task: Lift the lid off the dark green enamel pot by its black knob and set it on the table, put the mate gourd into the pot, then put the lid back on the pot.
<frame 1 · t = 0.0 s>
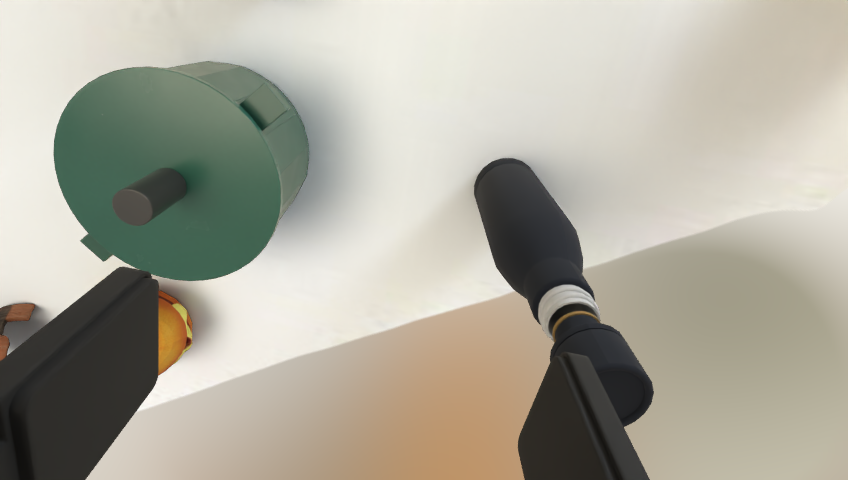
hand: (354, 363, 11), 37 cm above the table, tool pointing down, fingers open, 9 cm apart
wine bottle: (504, 187, 49), on the table
cheeseburger: (157, 314, 55), on the table
lid: (173, 182, 36), point 11 cm above the table, touching pot
brown hollow piece: (28, 336, 56), on the table
pot: (229, 146, 47), on the table
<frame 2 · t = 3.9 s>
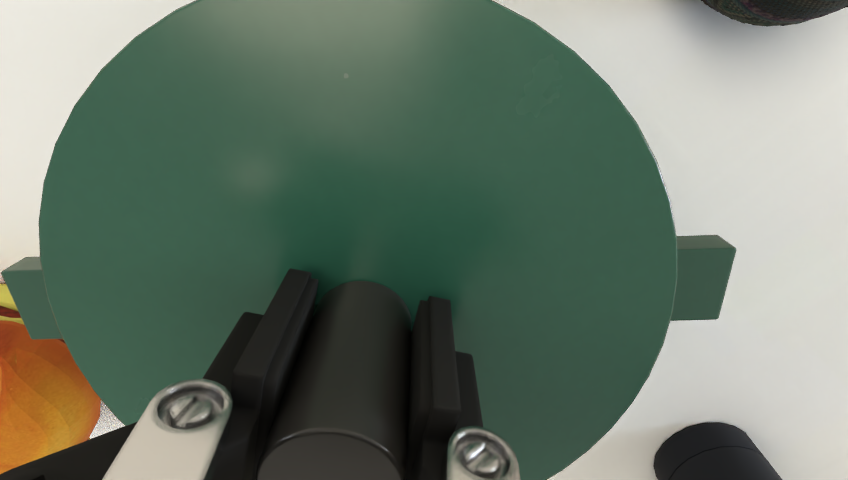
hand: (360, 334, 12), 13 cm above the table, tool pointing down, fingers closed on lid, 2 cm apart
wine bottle: (700, 455, 32), on the table
cheeseburger: (43, 339, 28), on the table
lid: (365, 309, 13), point 12 cm above the table, touching gripper, pot
pot: (390, 184, 24), on the table
when the fingers open (2 cm above the table, at t = 13.4 s): lid stays where it is, point 1 cm above the table.
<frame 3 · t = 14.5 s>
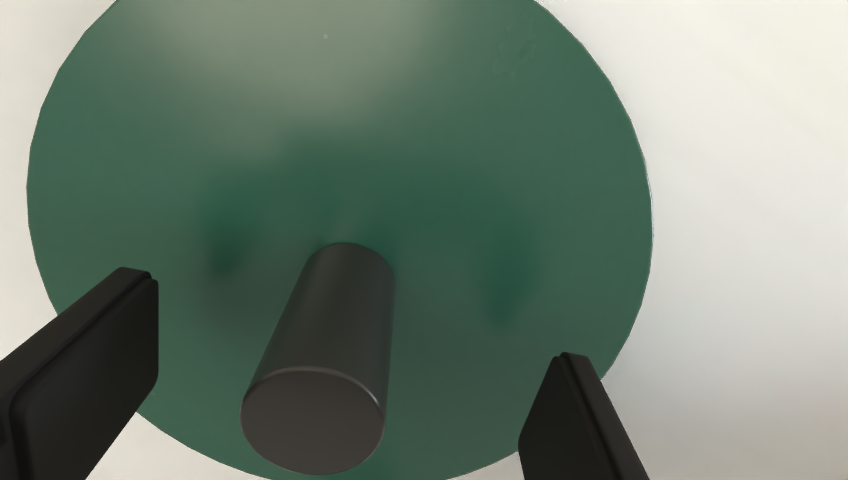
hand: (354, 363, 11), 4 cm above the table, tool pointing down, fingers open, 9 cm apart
lid: (351, 274, 14), point 1 cm above the table
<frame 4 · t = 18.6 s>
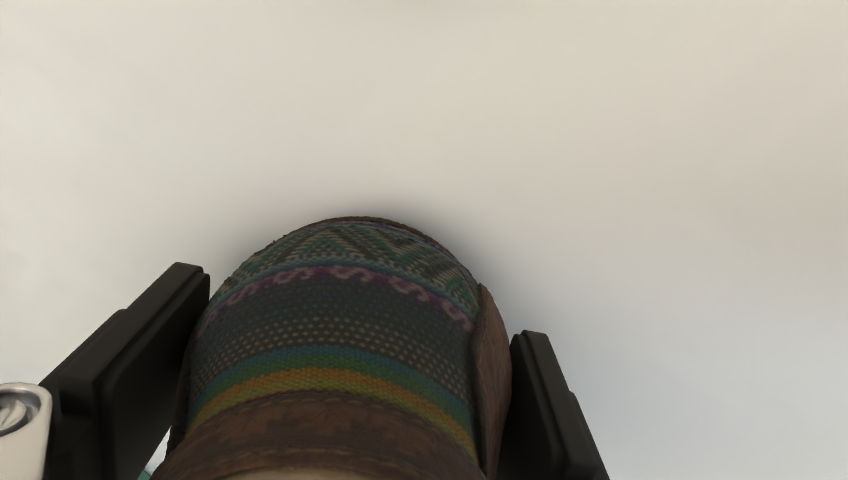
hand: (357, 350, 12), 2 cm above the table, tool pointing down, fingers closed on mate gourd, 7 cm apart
mate gourd: (368, 295, 14), on the table, touching gripper
when the fingers open (11 cm above the table, at t = 26.5 s): mate gourd drops 8 cm, resting on pot.
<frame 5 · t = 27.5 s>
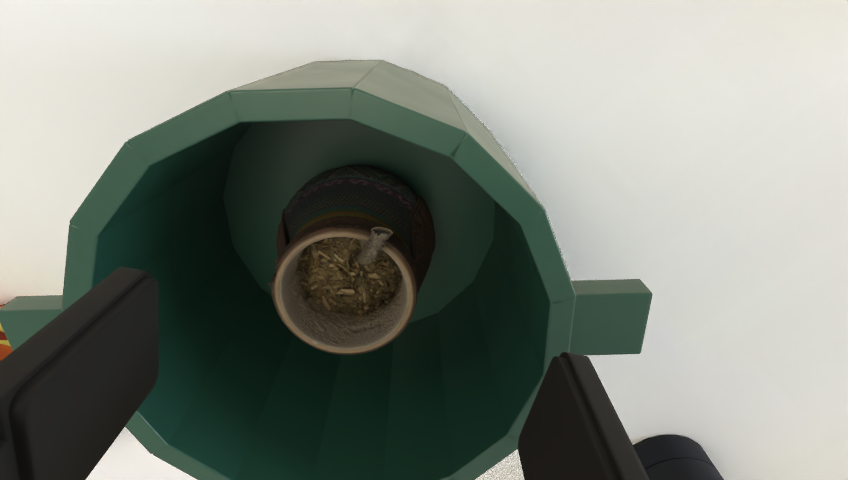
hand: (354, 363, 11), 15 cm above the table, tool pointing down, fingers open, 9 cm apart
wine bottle: (658, 465, 34), on the table
mate gourd: (364, 214, 25), resting on pot
pot: (362, 215, 25), on the table
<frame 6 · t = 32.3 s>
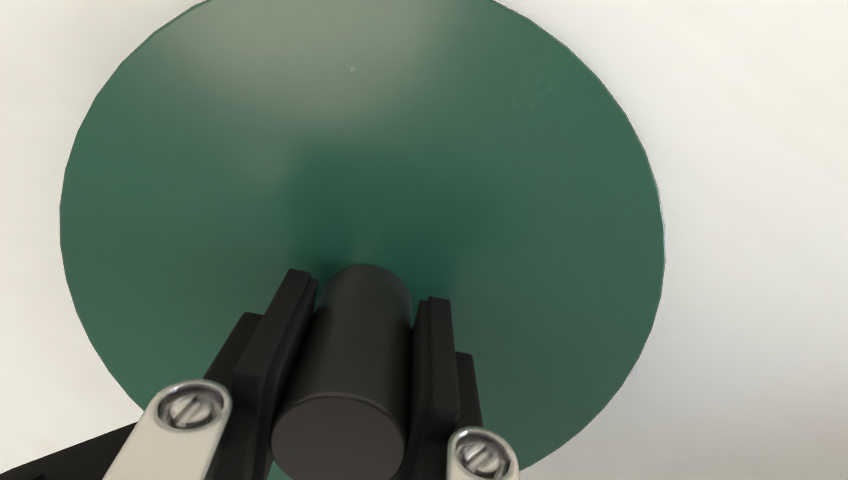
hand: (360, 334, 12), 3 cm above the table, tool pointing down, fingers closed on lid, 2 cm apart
lid: (368, 293, 14), point 1 cm above the table, touching gripper
when the fingers open (13 cm above the table, at t = 40.5 s): lid stays where it is, resting on pot.
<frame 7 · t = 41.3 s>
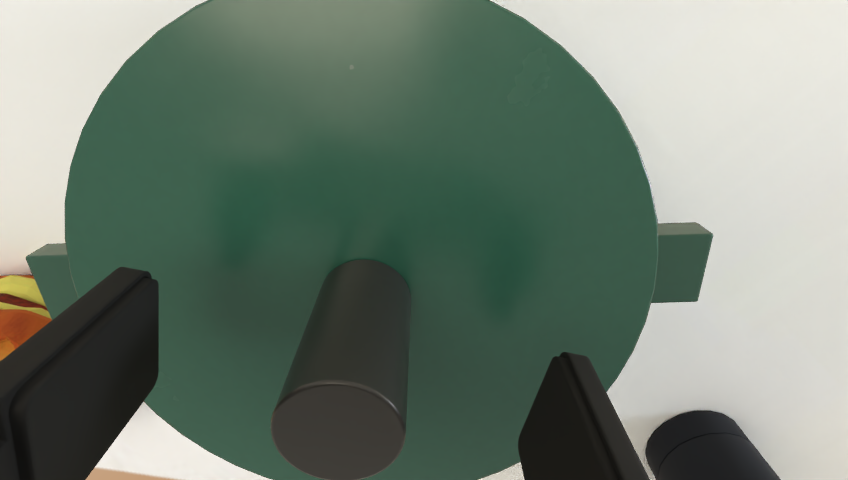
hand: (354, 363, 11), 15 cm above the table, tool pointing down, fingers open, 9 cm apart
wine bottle: (690, 443, 33), on the table
cheeseburger: (54, 330, 29), on the table
lid: (368, 288, 14), point 11 cm above the table, touching pot
pot: (390, 178, 25), on the table
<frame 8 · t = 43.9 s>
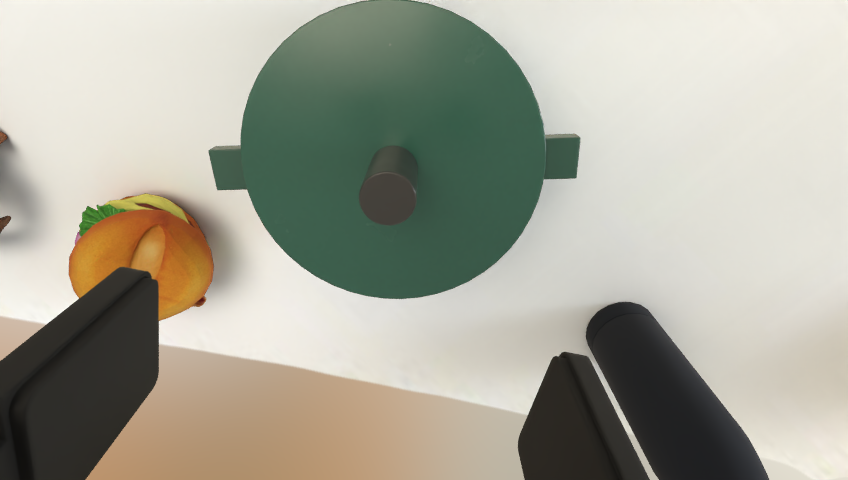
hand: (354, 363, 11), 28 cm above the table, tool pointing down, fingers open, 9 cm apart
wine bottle: (618, 329, 45), on the table
cheeseburger: (165, 238, 41), on the table
lid: (394, 165, 26), point 11 cm above the table, touching pot
pot: (402, 127, 37), on the table
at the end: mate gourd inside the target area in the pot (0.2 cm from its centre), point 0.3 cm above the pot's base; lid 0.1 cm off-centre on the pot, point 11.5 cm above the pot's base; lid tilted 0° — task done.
